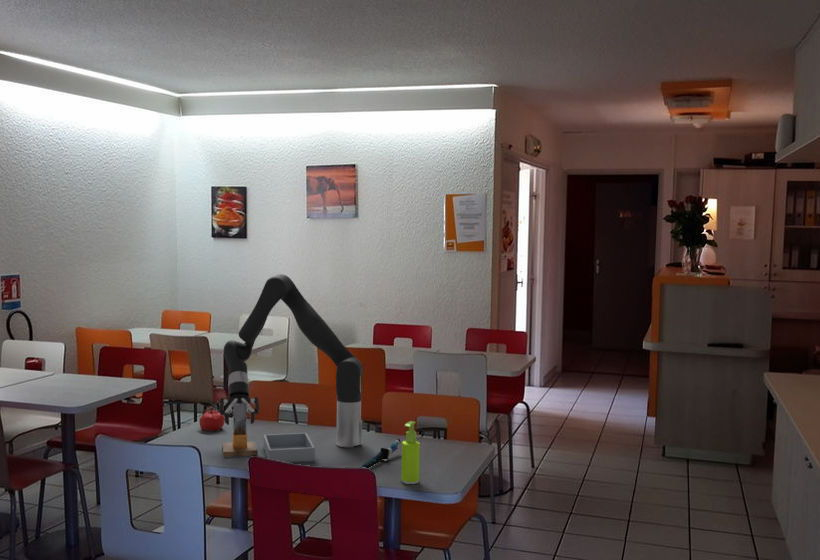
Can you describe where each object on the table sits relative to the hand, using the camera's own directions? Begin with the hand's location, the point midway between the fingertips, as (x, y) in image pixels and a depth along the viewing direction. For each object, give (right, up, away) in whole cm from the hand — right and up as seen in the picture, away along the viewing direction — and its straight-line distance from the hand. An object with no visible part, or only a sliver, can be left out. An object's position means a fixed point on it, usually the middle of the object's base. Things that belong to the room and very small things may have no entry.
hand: (239, 423), depth 282 cm
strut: (0, -9, +1) cm, 9 cm away
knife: (+51, -13, -9) cm, 54 cm away
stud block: (0, -11, +1) cm, 11 cm away
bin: (+18, -11, -1) cm, 21 cm away
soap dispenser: (+62, -14, -29) cm, 70 cm away
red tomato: (-19, -9, +32) cm, 38 cm away
